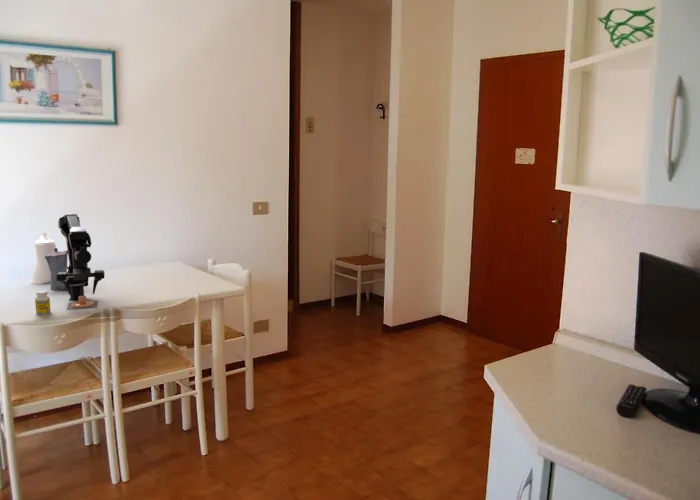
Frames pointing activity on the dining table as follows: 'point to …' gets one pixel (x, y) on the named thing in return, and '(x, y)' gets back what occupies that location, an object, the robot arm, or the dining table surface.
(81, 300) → the lid
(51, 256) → the moka pot
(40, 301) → the supplement bottle
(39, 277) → the white bottle
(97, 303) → the mat
